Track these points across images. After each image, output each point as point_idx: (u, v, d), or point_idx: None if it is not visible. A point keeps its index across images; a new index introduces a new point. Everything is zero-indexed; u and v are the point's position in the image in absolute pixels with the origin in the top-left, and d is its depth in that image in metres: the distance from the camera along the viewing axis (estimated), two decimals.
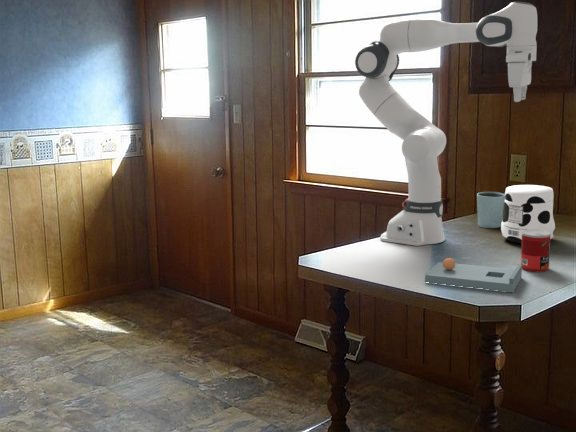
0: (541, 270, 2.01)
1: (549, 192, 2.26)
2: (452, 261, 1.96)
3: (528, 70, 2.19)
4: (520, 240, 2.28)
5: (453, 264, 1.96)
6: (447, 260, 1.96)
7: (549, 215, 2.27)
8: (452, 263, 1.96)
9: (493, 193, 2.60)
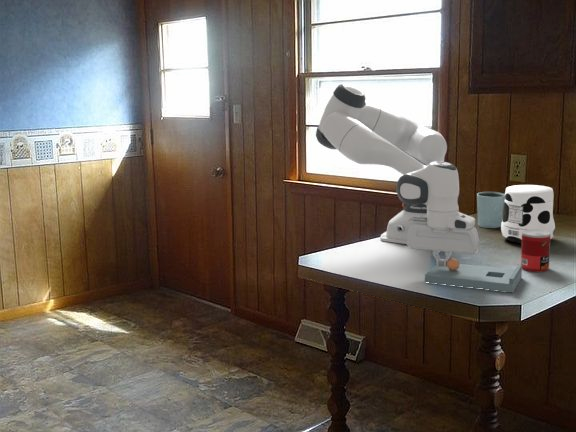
0: (541, 270, 2.01)
1: (549, 192, 2.26)
2: (457, 265, 1.96)
3: None
4: (520, 240, 2.28)
5: (456, 268, 1.96)
6: (454, 261, 1.96)
7: (549, 215, 2.27)
8: (456, 267, 1.96)
9: (493, 193, 2.60)
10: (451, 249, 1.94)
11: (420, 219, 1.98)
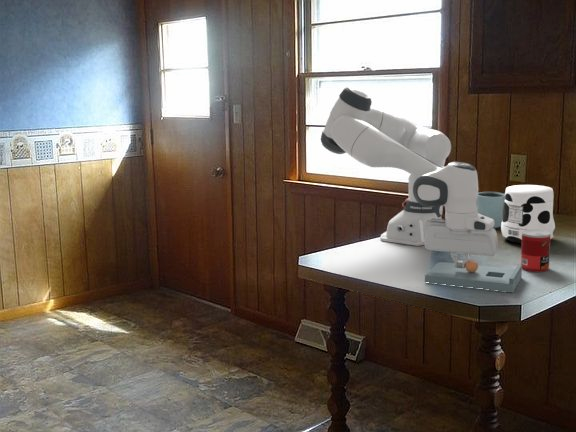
0: (541, 270, 2.01)
1: (549, 192, 2.26)
2: (465, 267, 1.95)
3: None
4: (520, 240, 2.28)
5: (465, 265, 1.94)
6: (469, 271, 1.94)
7: (548, 215, 2.27)
8: (465, 266, 1.94)
9: (493, 193, 2.60)
10: (470, 251, 1.92)
11: (438, 220, 1.96)
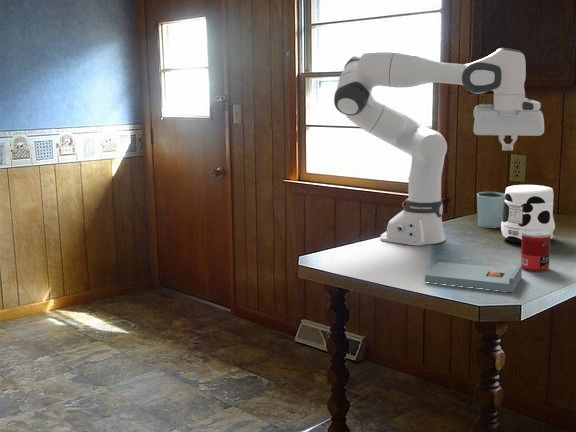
0: (541, 270, 2.01)
1: (549, 192, 2.26)
2: None
3: None
4: (520, 240, 2.28)
5: None
6: None
7: (548, 215, 2.27)
8: None
9: (493, 193, 2.60)
10: (518, 132, 2.03)
11: (486, 106, 2.07)
